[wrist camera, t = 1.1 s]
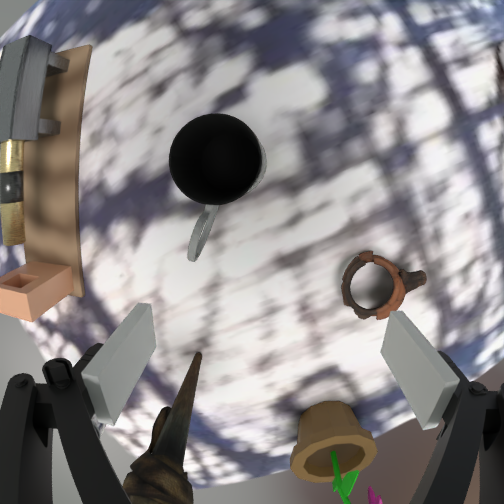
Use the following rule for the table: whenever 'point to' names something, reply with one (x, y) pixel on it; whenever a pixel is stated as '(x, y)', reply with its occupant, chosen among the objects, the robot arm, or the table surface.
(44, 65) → the grey bridge block
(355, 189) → the table surface
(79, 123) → the base board
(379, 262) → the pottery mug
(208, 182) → the glass holder
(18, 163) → the tube
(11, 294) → the socket block
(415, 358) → the robot arm
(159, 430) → the decorative torch
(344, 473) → the flowerpot
